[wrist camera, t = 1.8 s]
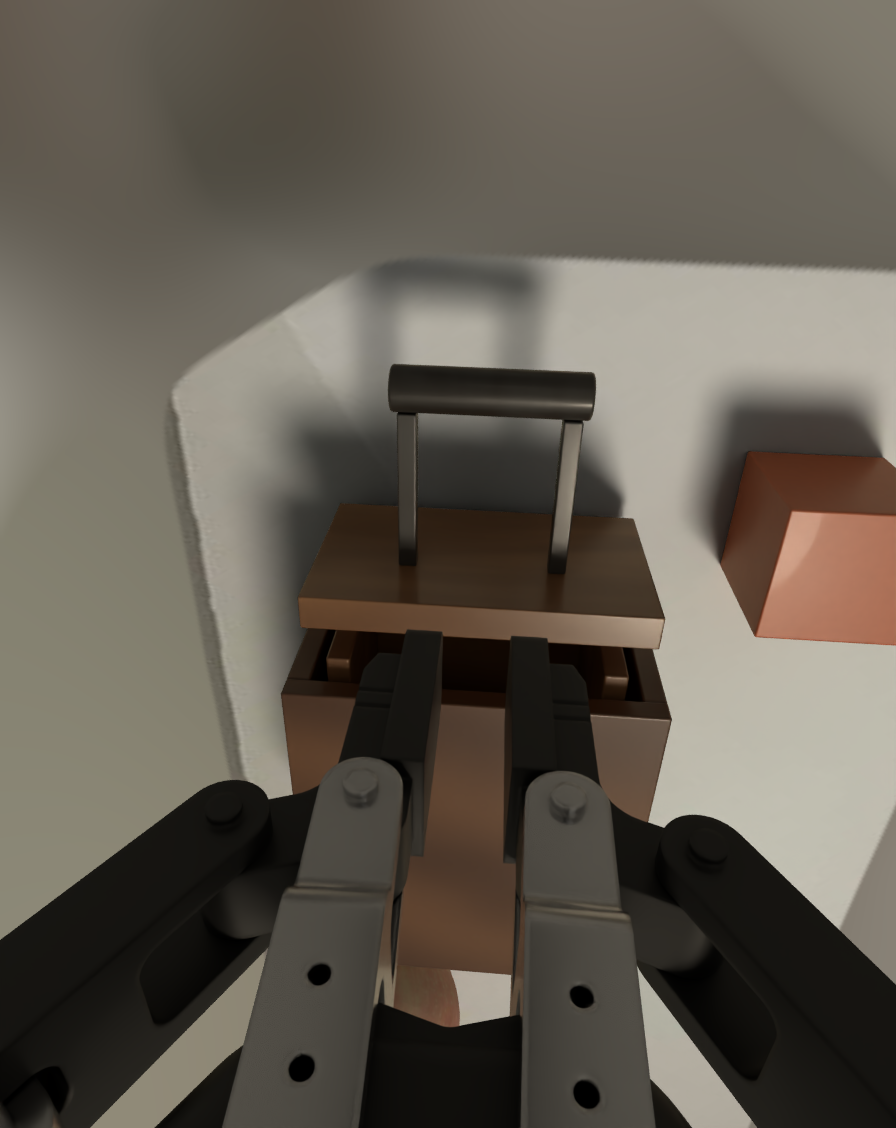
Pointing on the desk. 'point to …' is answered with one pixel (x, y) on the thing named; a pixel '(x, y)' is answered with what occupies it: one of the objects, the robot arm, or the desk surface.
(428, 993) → the apple
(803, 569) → the block
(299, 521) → the desk surface
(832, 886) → the desk surface
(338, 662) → the drawer
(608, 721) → the cabinet
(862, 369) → the desk surface
